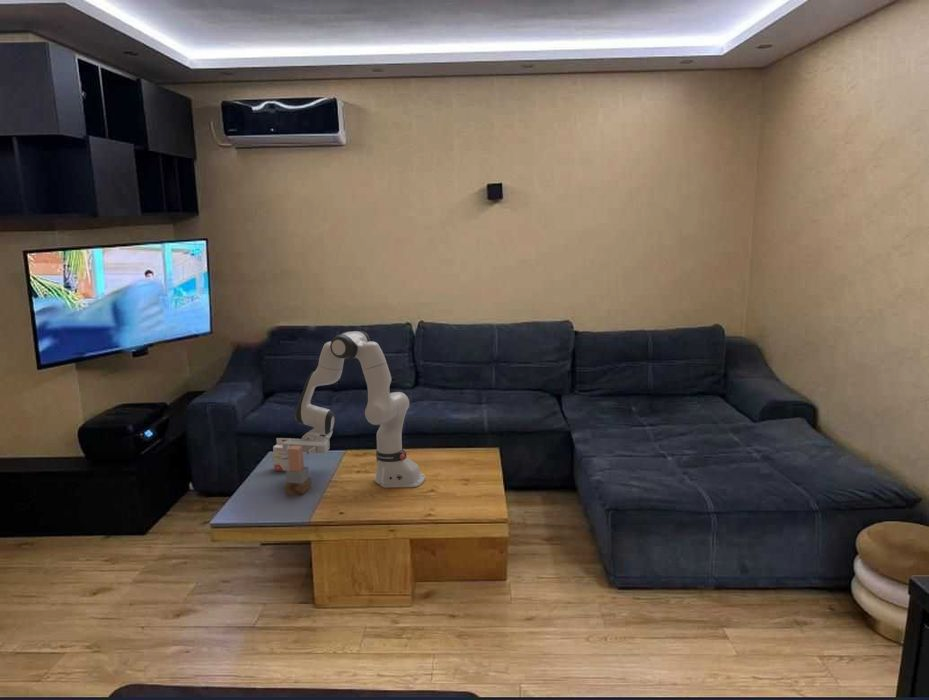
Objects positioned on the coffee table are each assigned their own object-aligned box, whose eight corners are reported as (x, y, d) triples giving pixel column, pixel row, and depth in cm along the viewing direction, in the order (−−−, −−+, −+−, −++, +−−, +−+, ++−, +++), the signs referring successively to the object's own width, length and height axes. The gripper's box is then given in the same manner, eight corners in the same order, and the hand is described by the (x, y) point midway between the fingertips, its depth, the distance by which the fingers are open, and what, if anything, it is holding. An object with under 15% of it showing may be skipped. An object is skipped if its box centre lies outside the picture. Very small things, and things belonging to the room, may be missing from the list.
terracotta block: (303, 468, 290) (302, 446, 288) (299, 471, 286) (298, 449, 284) (294, 467, 291) (292, 445, 289) (289, 471, 287) (288, 448, 285)
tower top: (309, 477, 292) (308, 467, 291) (301, 484, 286) (300, 473, 285) (294, 476, 294) (293, 465, 293) (286, 482, 287) (285, 471, 286)
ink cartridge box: (274, 470, 314) (271, 441, 311) (277, 467, 319) (275, 437, 316) (291, 471, 313) (289, 441, 310) (295, 467, 318) (293, 437, 315)
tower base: (311, 488, 294) (310, 477, 293) (303, 495, 286) (302, 484, 285) (294, 486, 295) (293, 476, 294) (286, 494, 288) (285, 483, 287)
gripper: (289, 433, 304) (275, 443, 291) (331, 436, 300) (319, 446, 287) (290, 446, 305) (276, 457, 292) (332, 449, 301) (320, 460, 288)
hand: (297, 452), depth 289 cm, fingers open, 8 cm apart
